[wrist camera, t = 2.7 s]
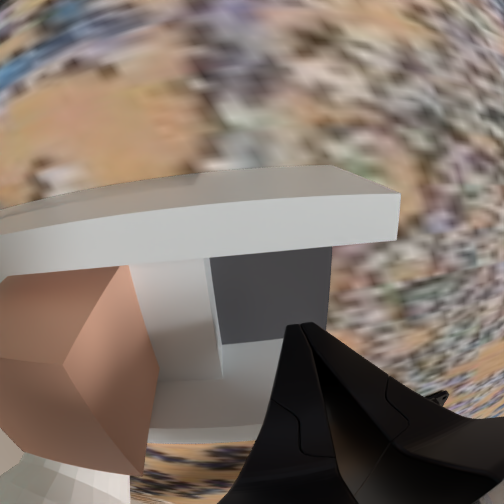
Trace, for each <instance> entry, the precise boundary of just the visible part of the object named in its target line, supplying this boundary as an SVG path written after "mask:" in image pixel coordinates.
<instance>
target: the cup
mask: <svg viewBox="0 0 504 504" xmlns="http://www.w3.org/2000/svg"><path fill="white" fill-rule="evenodd" d="M0 504H130V475H123V474H116V473H109V472H103V471H97V470H92V469H87V468H82V467H77V466H73V465H69V464H65V463H61V462H57V461H53V460H50V459H46V458H43V457H39V456H36V455H33V454H30V453H27V452H25V453H24V455H23V457H22V458H21V460H20V462H19V463H18V464H17V465H16V466H14V467H12V468H11V469H10V470H8V471H7V472H5V473H4V474H2V475H1V476H0Z"/></svg>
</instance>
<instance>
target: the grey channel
mask: <svg viewBox="0 0 504 504" xmlns="http://www.w3.org/2000/svg"><path fill="white" fill-rule="evenodd" d="M400 200H401V193H399V192H396V191H394V190H392V189H390V188H387V187H385V186H383V185H380V184H378V183H376V182H373V181H371V180H368V179H366V178H364V177H361V176H359V175H356V174H354V173H351V172H349V171H346V170H343V169H341V168H338V167H335V166H333V165H309V166H283V167H265V168H250V169H237V170H225V171H214V172H204V173H194V174H186V175H177V176H169V177H162V178H154V179H147V180H140V181H134V182H127V183H121V184H115V185H109V186H104V187H98V188H93V189H88V190H82V191H77V192H72V193H68V194H63V195H58V196H54V197H49V198H45V199H41V200H36V201H32V202H28V203H24V204H20V205H16V206H12V207H9V208H5V209H1V210H0V283H1V282H2V281H3V280H4V279H5V278H6V277H7V276H12V275H24V274H35V273H46V272H57V271H68V270H79V269H90V268H101V267H112V266H123V265H129V269H130V273H131V277H132V281H133V284H134V288H135V292H136V295H137V299H138V303H139V306H140V310H141V313H142V316H143V320H144V323H145V326H146V329H147V333H148V336H149V339H150V342H151V345H152V348H153V351H154V354H155V357H156V359H157V362H158V365H159V368H160V370H159V375H158V380H157V385H156V391H155V397H154V402H153V408H152V414H151V420H150V427H149V433H148V440H147V443H162V444H205V443H226V442H240V441H251V440H256V439H257V437H258V434H259V432H260V429H261V427H262V424H263V421H264V418H265V414H266V411H267V407H268V403H269V401H270V395H271V391H272V387H273V383H274V378H275V374H276V370H277V365H278V361H279V356H280V352H281V347H282V343H283V338H284V333H285V329H286V326H287V325H290V324H299V325H300V324H301V323H305V322H314V323H315V324H317V325H318V326H320V327H321V328H322V329H324V330H325V331H326V324H327V313H328V302H329V290H330V276H331V261H332V246H340V245H350V244H361V243H371V242H382V241H392V240H397V231H398V222H399V212H400Z"/></svg>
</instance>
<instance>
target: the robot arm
mask: <svg viewBox="0 0 504 504" xmlns="http://www.w3.org/2000/svg"><path fill="white" fill-rule="evenodd" d="M448 396H449V393H448V392H447V391H443V392H441V393H438V394H436V395H433V396H431V397H428V398H425V397H423V396H421V395H420V394H418V393H416V392H414V391H413V390H411V389H409V388H408V387H406V386H405V385H403V384H402V383H400V382H398V381H397V380H396V379H394V378H393V377H391V376H389V377H388V374H387V373H385V372H384V371H382V370H381V369H379V368H378V367H377V366H375V365H374V364H372V363H371V362H369V361H368V360H366V359H365V358H364V357H362V356H361V355H359V354H358V353H356V352H355V351H354V350H352V349H351V348H349V347H348V346H346V345H345V344H344V343H342V342H341V341H339V340H338V339H337V338H335V337H334V336H332V335H331V334H330V333H328V332H327V331H325V330H324V329H322V328H321V327H320V326H318V325H317V324H315V323H314V322H305V323H301V324H300V325H299V324H290V325H287V326H286V329H285V333H284V338H283V343H282V347H281V352H280V356H279V361H278V365H277V370H276V374H275V378H274V383H273V387H272V391H271V395H270V401H269V403H268V407H267V411H266V414H265V418H264V421H263V424H262V427H261V429H260V432H259V434H258V437H257V439H256V441H255V443H254V446H253V448H252V450H251V452H250V454H249V456H248V458H247V460H246V462H245V464H244V466H243V468H242V470H241V472H240V474H239V476H238V478H237V479H236V481H235V483H234V484H233V486H232V487H231V489H230V490H229V492H228V493H227V494H226V495H225V496H224V497H223V498H222V499H221V500H220V501H219V502H218V503H217V504H504V417H495V418H485V419H472V418H467V417H464V416H461V415H458V414H456V413H454V412H452V411H450V410H448V409H446V408H444V407H443V405H444V403H445V401H446V400H447V398H448Z"/></svg>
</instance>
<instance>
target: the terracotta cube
mask: <svg viewBox="0 0 504 504" xmlns="http://www.w3.org/2000/svg"><path fill="white" fill-rule="evenodd" d="M159 370H160V368H159V365H158V362H157V359H156V357H155V354H154V351H153V348H152V345H151V342H150V339H149V336H148V333H147V329H146V326H145V323H144V320H143V316H142V313H141V310H140V306H139V303H138V299H137V295H136V292H135V288H134V284H133V281H132V277H131V273H130V269H129V265H123V266H112V267H101V268H90V269H79V270H68V271H57V272H46V273H35V274H24V275H12V276H7V277H6V278H5V279H4V280H3V281H2V282H1V283H0V428H1V429H2V430H3V431H4V432H5V433H6V434H7V435H8V436H9V438H10V439H11V440H13V442H14V443H15V444H16V445H17V446H18V447H19V448H20V449H21V450H22V451H24V452H27V453H30V454H33V455H36V456H39V457H43V458H46V459H50V460H53V461H57V462H61V463H65V464H69V465H73V466H77V467H82V468H87V469H92V470H97V471H103V472H109V473H116V474H123V475H131V476H141V477H143V470H144V462H145V454H146V447H147V440H148V433H149V427H150V420H151V414H152V408H153V402H154V397H155V391H156V385H157V380H158V375H159Z"/></svg>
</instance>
